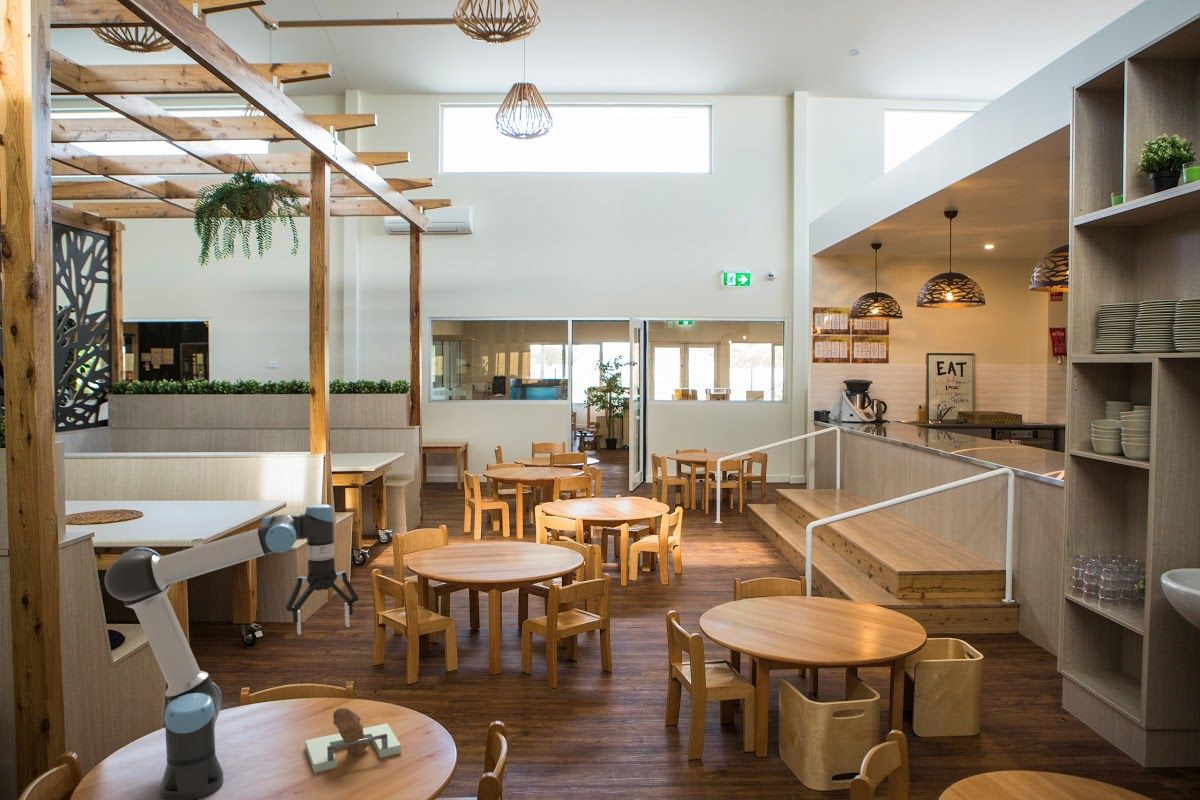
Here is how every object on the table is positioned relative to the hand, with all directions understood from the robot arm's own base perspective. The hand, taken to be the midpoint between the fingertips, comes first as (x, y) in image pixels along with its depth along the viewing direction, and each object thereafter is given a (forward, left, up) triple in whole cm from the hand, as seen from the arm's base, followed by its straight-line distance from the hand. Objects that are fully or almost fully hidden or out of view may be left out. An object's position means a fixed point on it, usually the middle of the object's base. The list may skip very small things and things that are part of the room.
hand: (323, 629), depth 246 cm
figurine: (+5, -9, -35) cm, 36 cm away
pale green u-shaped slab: (+6, -7, -35) cm, 36 cm away
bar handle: (+6, -15, -32) cm, 36 cm away
